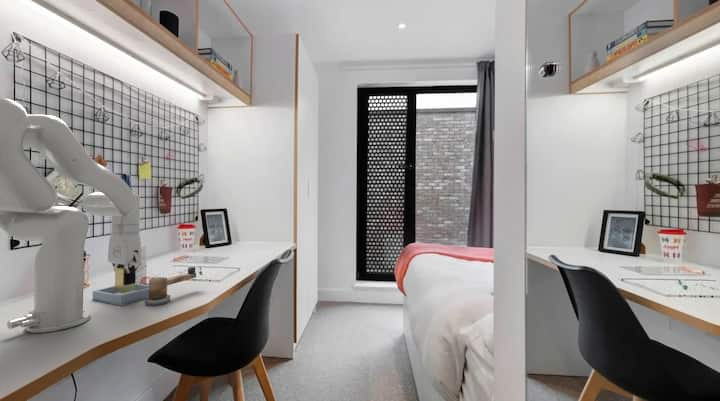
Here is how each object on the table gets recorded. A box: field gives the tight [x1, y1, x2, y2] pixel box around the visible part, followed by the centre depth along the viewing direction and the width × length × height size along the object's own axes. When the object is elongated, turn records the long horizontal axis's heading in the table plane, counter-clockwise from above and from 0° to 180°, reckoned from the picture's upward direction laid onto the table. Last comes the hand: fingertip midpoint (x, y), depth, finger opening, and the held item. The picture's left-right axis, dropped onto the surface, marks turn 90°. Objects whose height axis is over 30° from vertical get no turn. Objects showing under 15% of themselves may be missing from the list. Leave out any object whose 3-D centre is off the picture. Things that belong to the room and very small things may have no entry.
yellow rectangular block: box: [114, 266, 136, 293], centre depth 106 cm, size 4×4×8 cm
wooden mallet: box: [148, 266, 197, 299], centre depth 108 cm, size 17×5×7 cm, turn 160°
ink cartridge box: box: [130, 246, 148, 285], centre depth 119 cm, size 9×5×15 cm, turn 179°
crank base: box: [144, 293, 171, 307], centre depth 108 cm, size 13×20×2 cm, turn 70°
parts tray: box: [92, 283, 149, 307], centre depth 106 cm, size 12×14×3 cm
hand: (125, 282), depth 106 cm, fingers closed on yellow rectangular block, 3 cm apart
